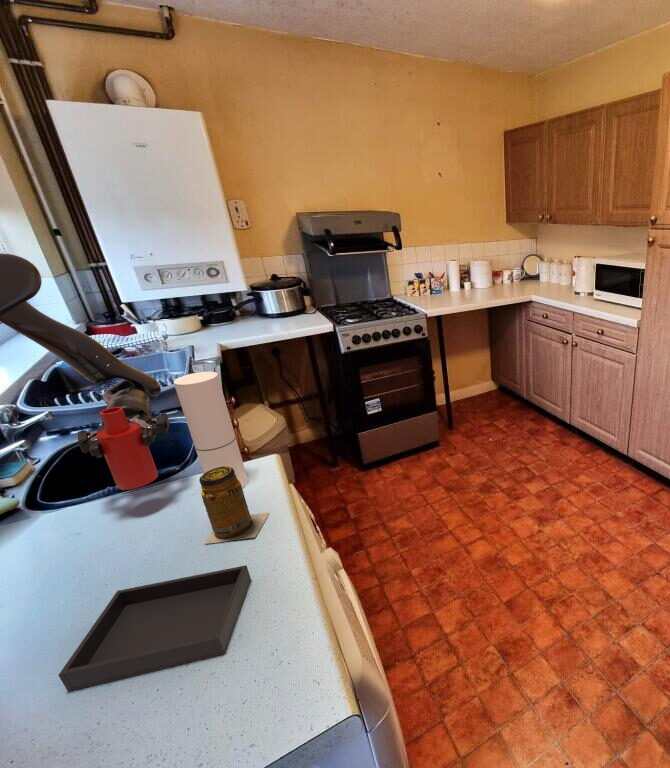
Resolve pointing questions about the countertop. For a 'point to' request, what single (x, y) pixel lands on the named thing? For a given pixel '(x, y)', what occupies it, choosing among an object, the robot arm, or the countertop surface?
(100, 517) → the countertop surface
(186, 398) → the cylindrical container
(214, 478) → the condiment
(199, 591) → the baking tray
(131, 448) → the bottle
